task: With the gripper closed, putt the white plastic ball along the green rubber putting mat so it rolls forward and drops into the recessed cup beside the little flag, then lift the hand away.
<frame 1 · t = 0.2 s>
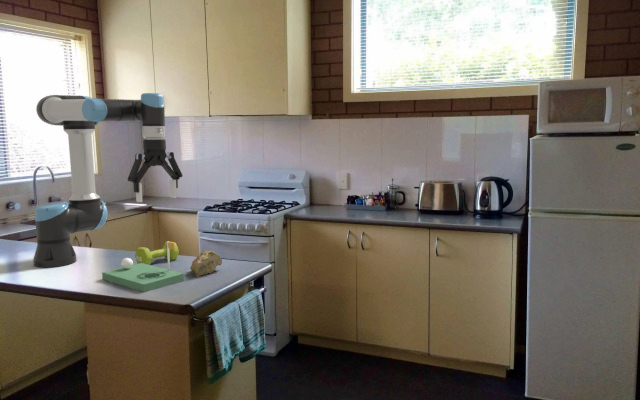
hand: (156, 199, 191), 27 cm above the table, fingers open, 13 cm apart
rock: (202, 273, 199), on the table
ball: (127, 263, 194), point 4 cm above the table, touching mat
dumbbell: (157, 263, 213), on the table
mat: (143, 279, 190), on the table
flag: (169, 277, 192), resting on mat
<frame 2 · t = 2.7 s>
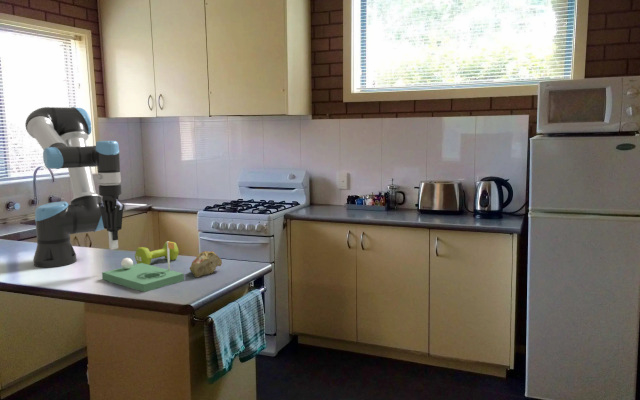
hand: (113, 248, 198), 9 cm above the table, fingers closed
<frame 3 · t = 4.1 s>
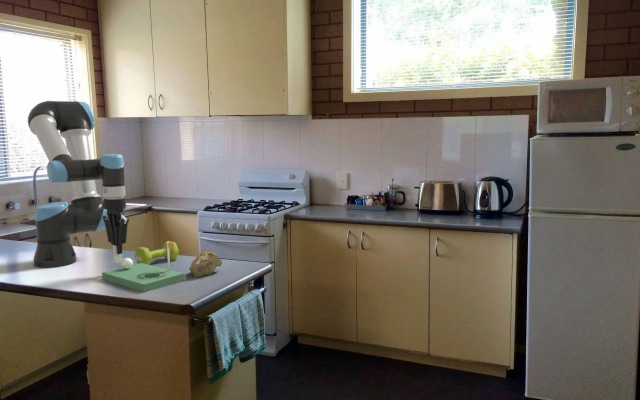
hand: (118, 262, 198), 4 cm above the table, fingers closed
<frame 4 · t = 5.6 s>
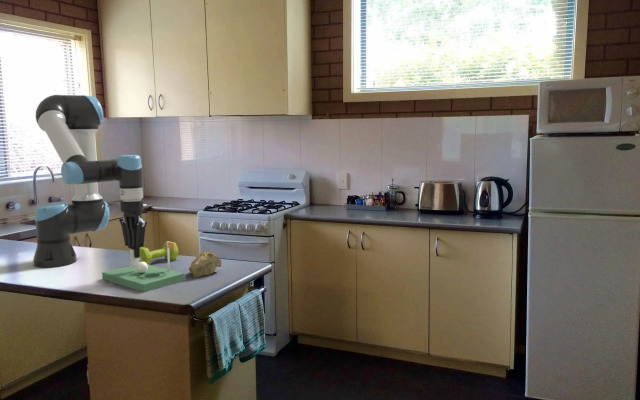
hand: (135, 266, 191), 4 cm above the table, fingers closed
ball: (142, 267, 189), point 4 cm above the table, tilted 110°, touching mat
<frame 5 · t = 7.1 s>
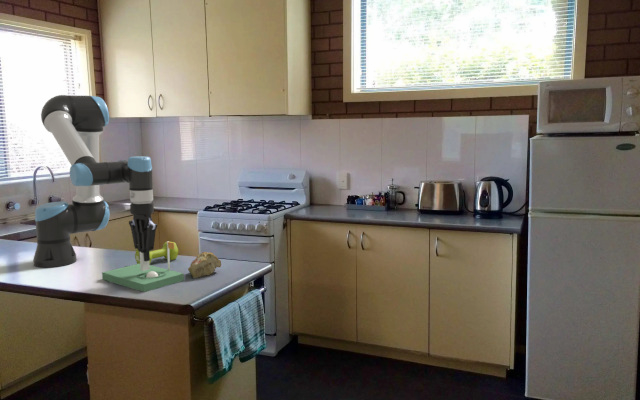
hand: (145, 269, 188), 4 cm above the table, fingers closed
ball: (152, 277, 186), point 2 cm above the table, tilted 86°
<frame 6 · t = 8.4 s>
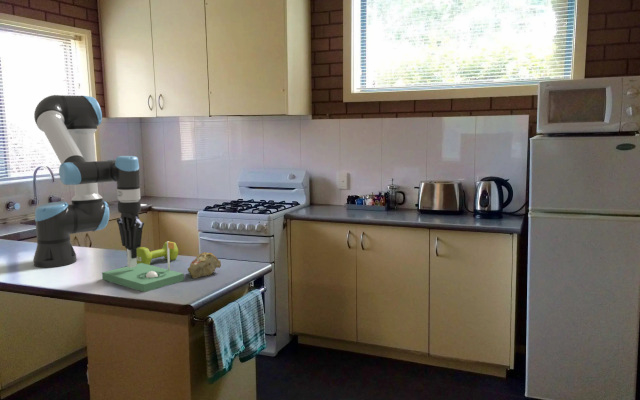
hand: (132, 266, 193), 4 cm above the table, fingers closed
ball: (151, 276, 186), point 2 cm above the table, tilted 78°
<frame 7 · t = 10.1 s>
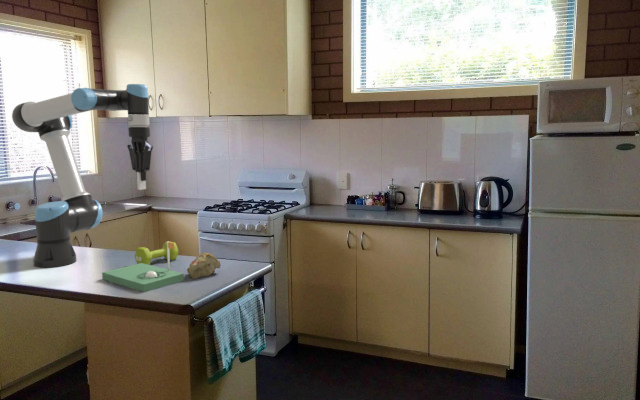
hand: (141, 189, 207), 29 cm above the table, fingers closed
ball: (151, 276, 186), point 2 cm above the table, tilted 69°
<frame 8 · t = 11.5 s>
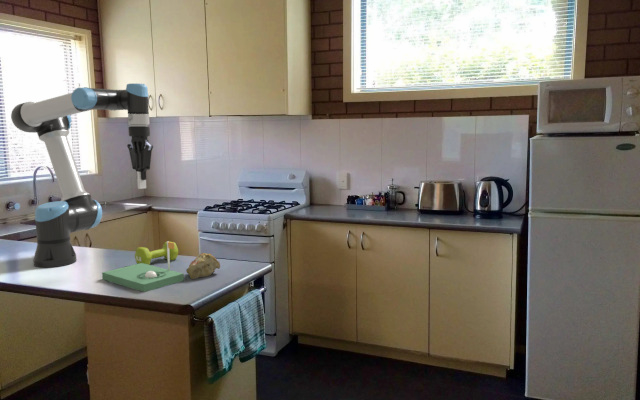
hand: (142, 188, 207), 29 cm above the table, fingers closed
ball: (150, 276, 187), point 2 cm above the table, tilted 61°
at the end: ball 0.4 cm from the target spot in the mat, point 2.0 cm above the mat's base; ball touching table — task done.
